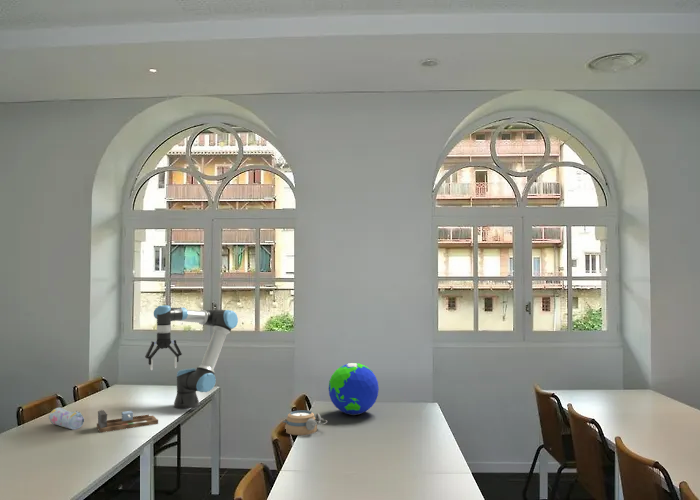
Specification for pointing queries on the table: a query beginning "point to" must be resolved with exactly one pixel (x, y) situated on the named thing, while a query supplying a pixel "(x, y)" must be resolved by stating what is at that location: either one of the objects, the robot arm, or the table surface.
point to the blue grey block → (127, 415)
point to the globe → (353, 388)
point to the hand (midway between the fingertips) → (163, 369)
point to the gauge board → (123, 422)
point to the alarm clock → (302, 422)
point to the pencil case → (66, 418)
